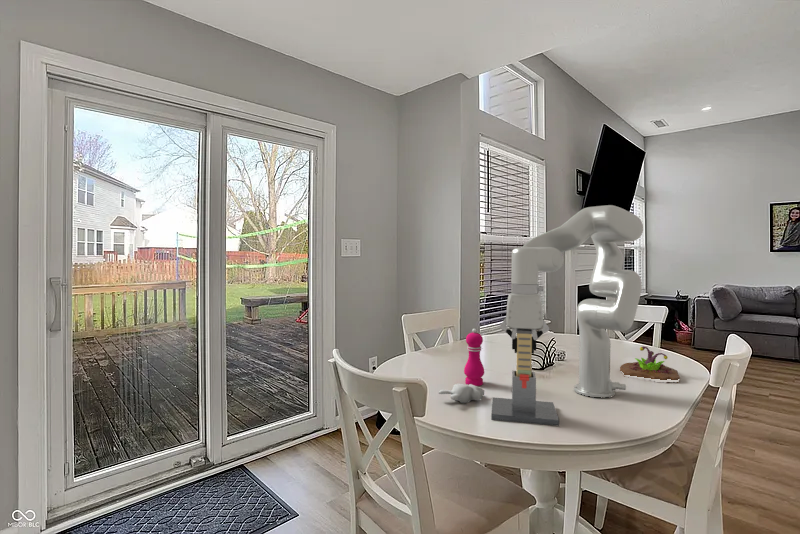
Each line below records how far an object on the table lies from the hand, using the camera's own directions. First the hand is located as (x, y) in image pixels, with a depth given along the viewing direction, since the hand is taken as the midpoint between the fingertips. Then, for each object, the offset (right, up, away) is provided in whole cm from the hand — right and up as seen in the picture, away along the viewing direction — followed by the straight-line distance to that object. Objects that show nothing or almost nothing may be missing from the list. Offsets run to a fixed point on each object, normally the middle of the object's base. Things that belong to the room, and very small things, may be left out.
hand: (524, 351), depth 123 cm
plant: (+60, -17, +40) cm, 74 cm away
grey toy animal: (-16, -18, +12) cm, 27 cm away
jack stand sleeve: (0, -18, +1) cm, 18 cm away
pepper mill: (-10, -17, +29) cm, 35 cm away
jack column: (0, -10, 0) cm, 10 cm away
